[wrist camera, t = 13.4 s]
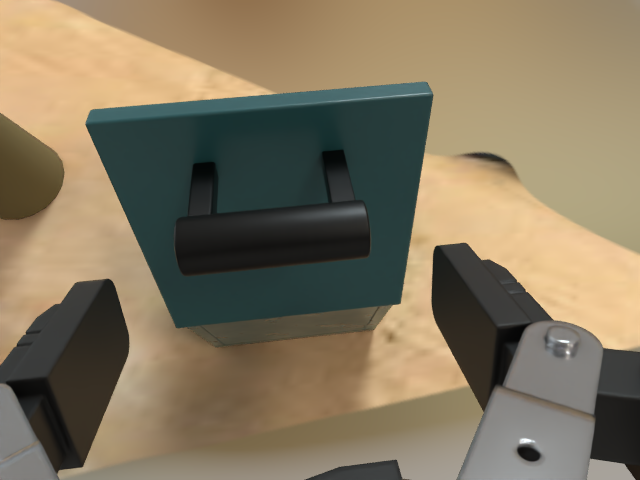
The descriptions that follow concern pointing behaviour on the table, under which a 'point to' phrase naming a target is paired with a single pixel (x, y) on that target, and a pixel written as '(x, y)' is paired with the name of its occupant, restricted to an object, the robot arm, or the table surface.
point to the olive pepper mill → (26, 172)
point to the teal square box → (291, 326)
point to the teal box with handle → (271, 197)
